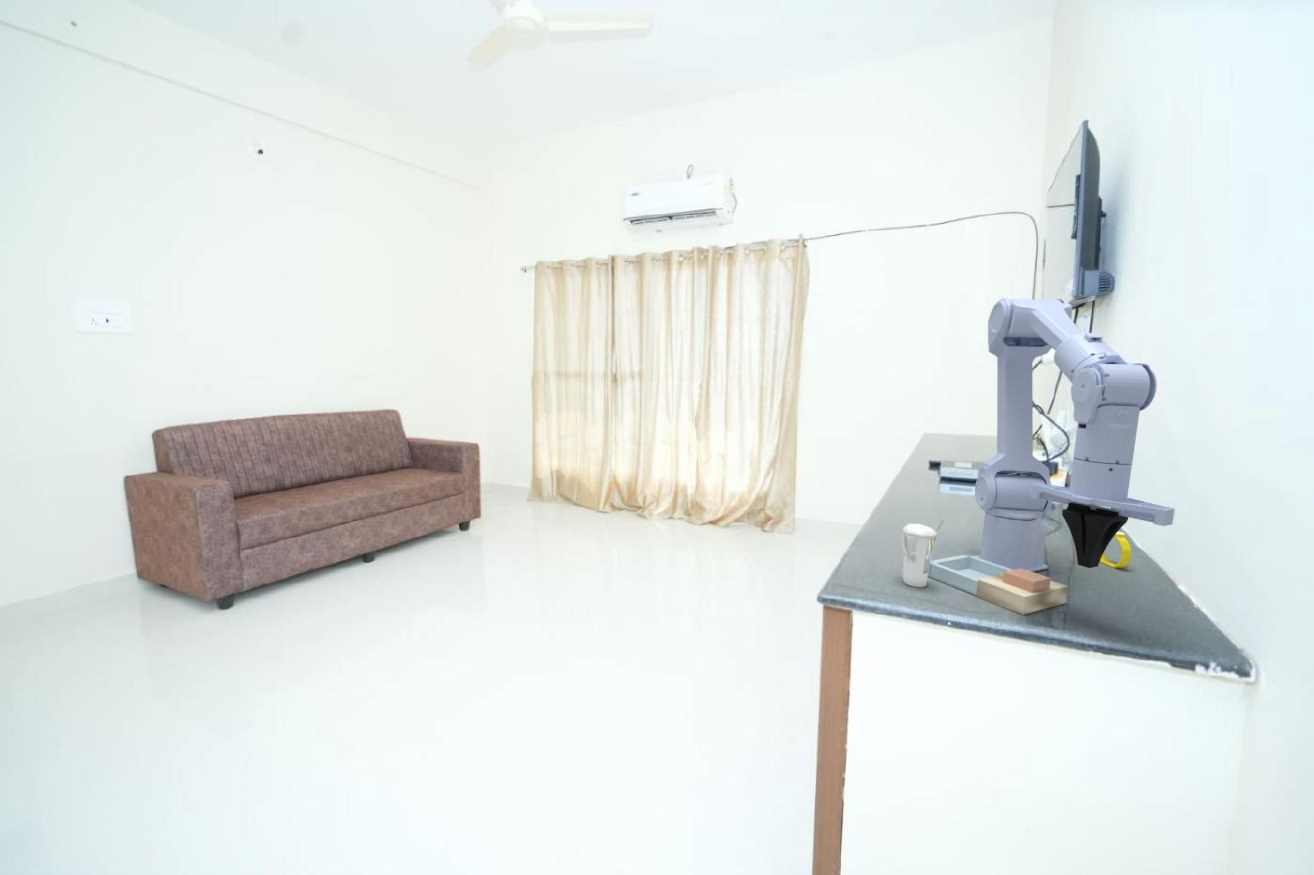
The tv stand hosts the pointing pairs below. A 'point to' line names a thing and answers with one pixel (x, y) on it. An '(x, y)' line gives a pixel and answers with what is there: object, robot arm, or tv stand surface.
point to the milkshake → (917, 553)
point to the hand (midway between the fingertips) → (1087, 565)
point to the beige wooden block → (1020, 595)
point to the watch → (1125, 552)
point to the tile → (1026, 580)
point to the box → (964, 571)
